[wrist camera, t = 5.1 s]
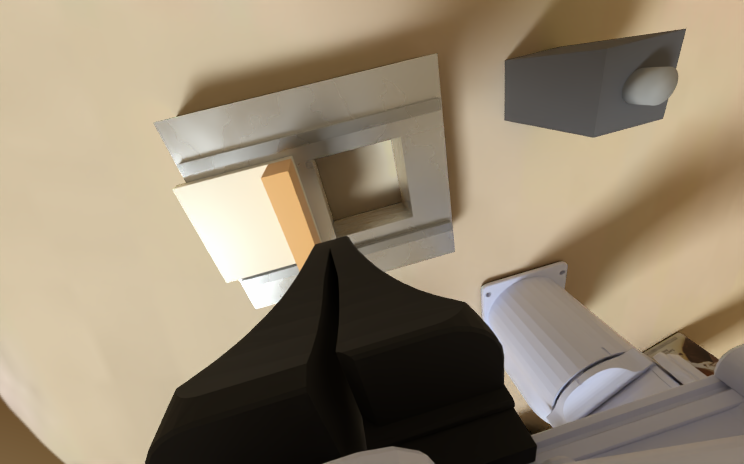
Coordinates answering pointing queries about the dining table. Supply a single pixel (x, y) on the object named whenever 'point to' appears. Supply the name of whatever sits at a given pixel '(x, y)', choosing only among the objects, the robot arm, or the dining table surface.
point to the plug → (594, 84)
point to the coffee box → (686, 353)
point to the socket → (331, 136)
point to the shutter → (252, 218)
